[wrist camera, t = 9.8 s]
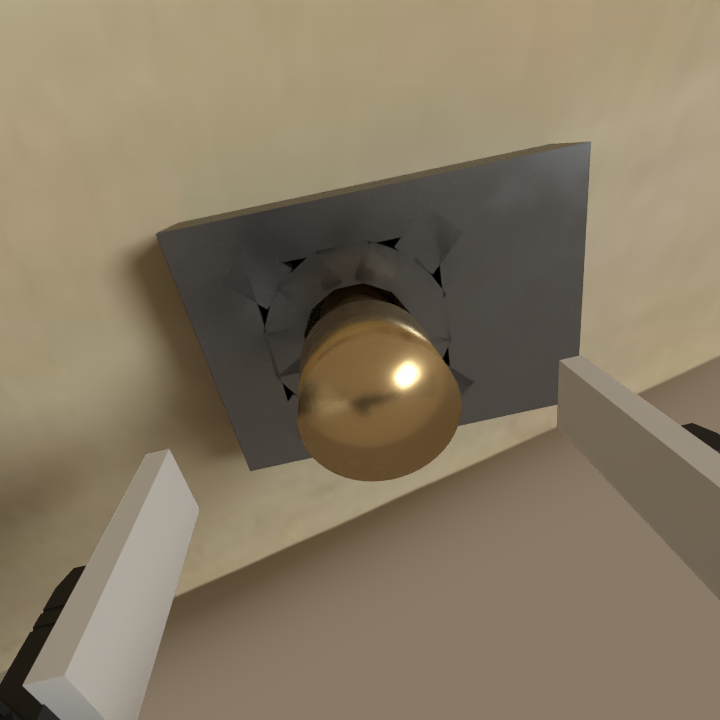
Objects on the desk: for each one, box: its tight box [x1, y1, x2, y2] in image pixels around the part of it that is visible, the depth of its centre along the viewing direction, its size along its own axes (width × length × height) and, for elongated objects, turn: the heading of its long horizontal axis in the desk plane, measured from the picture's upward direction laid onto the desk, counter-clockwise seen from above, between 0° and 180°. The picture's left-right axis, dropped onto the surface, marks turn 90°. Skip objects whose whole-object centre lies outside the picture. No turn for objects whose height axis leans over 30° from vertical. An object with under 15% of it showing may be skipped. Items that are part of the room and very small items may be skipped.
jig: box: [156, 142, 591, 471], centre depth 23 cm, size 20×14×4 cm
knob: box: [297, 283, 461, 481], centre depth 20 cm, size 6×6×11 cm
